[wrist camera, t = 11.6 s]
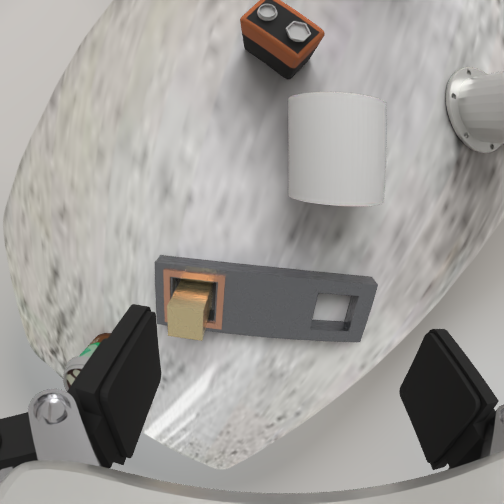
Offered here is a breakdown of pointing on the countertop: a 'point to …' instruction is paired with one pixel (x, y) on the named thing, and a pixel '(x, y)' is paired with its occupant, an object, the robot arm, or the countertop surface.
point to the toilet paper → (337, 148)
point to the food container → (80, 361)
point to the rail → (268, 299)
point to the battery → (279, 36)
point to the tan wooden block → (189, 309)
